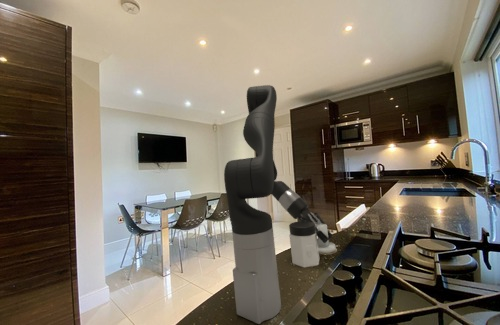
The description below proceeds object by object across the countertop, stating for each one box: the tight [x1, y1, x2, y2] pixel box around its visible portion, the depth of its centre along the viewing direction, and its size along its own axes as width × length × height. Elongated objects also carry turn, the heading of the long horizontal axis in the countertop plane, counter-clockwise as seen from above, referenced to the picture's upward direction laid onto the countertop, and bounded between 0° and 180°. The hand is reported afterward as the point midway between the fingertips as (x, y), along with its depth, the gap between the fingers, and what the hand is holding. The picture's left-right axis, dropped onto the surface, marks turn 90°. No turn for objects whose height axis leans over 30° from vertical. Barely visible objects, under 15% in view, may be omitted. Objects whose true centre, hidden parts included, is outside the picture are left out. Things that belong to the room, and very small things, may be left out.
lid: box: [317, 223, 337, 253], centre depth 73 cm, size 8×8×8 cm
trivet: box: [319, 248, 338, 255], centre depth 73 cm, size 8×8×1 cm
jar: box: [288, 220, 320, 268], centre depth 66 cm, size 9×8×12 cm
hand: (328, 239), depth 72 cm, fingers closed on lid, 3 cm apart
